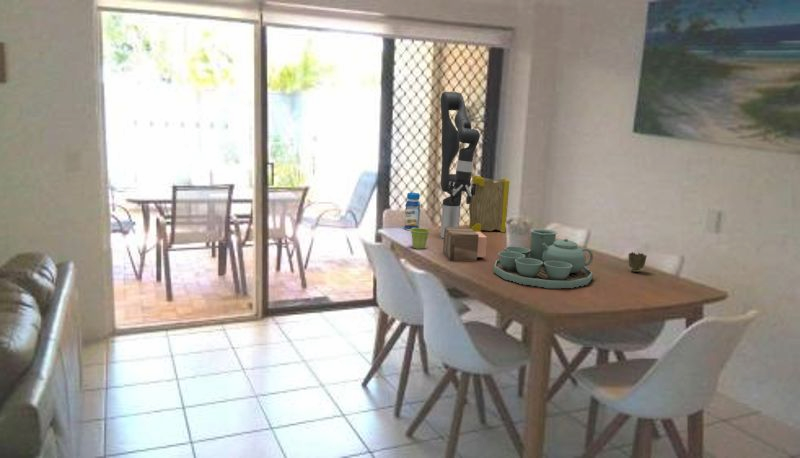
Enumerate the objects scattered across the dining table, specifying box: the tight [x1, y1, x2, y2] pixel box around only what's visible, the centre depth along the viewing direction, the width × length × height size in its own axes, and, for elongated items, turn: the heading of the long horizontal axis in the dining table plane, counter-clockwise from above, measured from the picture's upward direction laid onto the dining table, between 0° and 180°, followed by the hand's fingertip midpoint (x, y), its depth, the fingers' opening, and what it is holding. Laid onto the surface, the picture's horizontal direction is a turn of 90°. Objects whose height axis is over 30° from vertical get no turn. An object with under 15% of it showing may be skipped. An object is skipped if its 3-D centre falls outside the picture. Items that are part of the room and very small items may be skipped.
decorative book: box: [468, 175, 510, 233], centre depth 344 cm, size 20×11×30 cm, turn 93°
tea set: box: [493, 228, 594, 289], centre depth 254 cm, size 40×40×16 cm
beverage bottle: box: [403, 192, 421, 231], centre depth 338 cm, size 8×8×20 cm
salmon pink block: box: [476, 231, 488, 258], centre depth 282 cm, size 12×10×9 cm
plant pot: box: [409, 227, 431, 250], centre depth 296 cm, size 9×9×9 cm
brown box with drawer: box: [442, 226, 479, 262], centre depth 281 cm, size 16×12×12 cm
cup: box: [628, 251, 648, 273], centre depth 268 cm, size 8×7×8 cm
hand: (459, 203), depth 300 cm, fingers open, 8 cm apart
